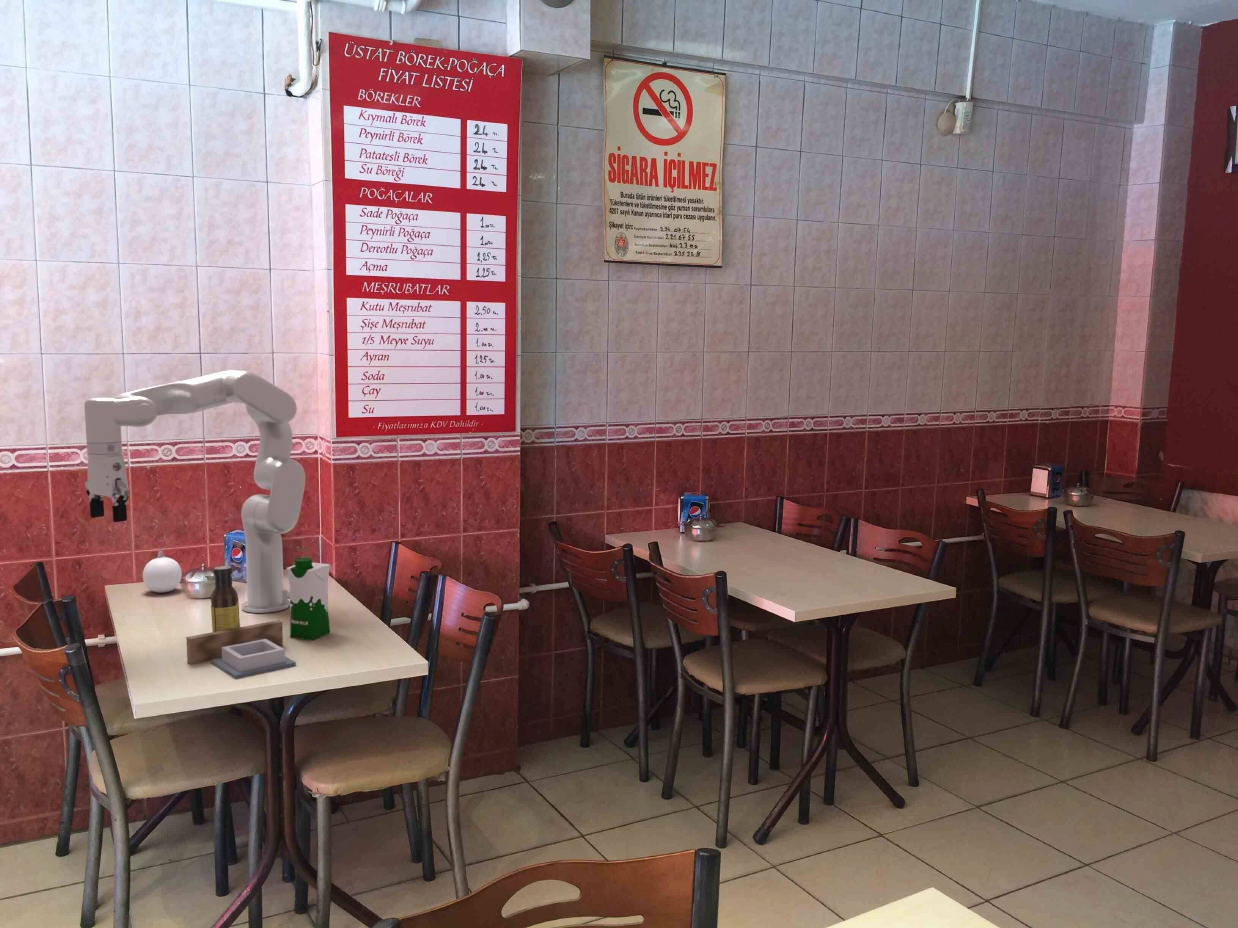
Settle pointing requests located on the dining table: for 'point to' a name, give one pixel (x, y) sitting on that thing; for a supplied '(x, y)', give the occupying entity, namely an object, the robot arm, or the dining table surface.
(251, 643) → the holder
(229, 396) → the robot arm
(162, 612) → the dining table surface
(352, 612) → the dining table surface
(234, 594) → the sauce bottle
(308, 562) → the milk carton
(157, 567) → the ornament
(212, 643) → the walnut wall
